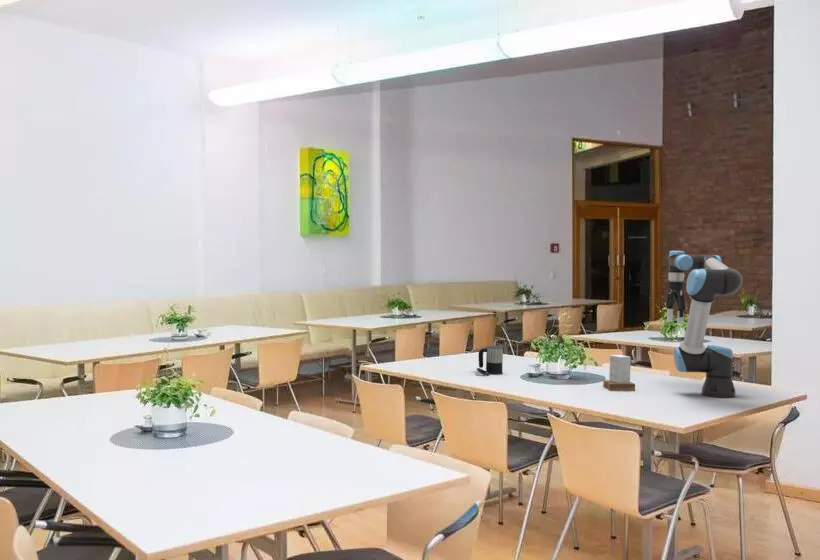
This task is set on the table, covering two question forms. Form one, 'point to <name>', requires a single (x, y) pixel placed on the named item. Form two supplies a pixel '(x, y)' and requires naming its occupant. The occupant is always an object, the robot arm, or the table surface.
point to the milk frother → (491, 360)
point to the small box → (619, 369)
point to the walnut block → (618, 386)
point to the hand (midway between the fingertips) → (674, 322)
